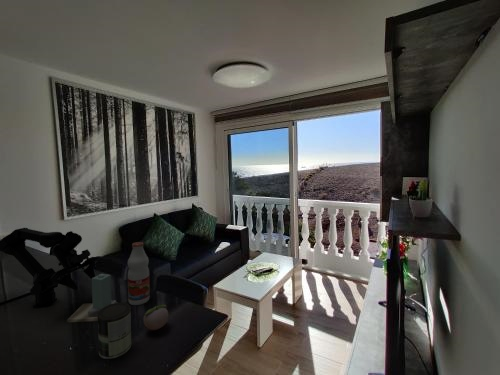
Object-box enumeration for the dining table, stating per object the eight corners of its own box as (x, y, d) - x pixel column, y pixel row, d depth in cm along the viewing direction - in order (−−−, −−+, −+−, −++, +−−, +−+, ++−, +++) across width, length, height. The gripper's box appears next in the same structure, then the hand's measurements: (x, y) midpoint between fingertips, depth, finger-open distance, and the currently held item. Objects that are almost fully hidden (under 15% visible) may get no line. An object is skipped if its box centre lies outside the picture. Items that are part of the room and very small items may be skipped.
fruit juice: (150, 294, 126) (149, 239, 124) (149, 303, 117) (148, 245, 115) (129, 297, 123) (128, 241, 120) (127, 307, 114) (125, 247, 112)
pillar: (92, 308, 107) (91, 276, 105) (102, 301, 111) (101, 271, 110) (102, 309, 105) (101, 278, 104) (111, 303, 110) (110, 273, 109)
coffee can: (92, 360, 83) (90, 319, 82) (107, 338, 93) (106, 302, 92) (124, 358, 84) (123, 318, 83) (136, 337, 94) (135, 301, 93)
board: (67, 322, 102) (66, 313, 102) (83, 306, 114) (83, 298, 114) (107, 320, 104) (107, 311, 104) (119, 304, 116) (118, 296, 116)
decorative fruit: (153, 340, 93) (153, 314, 92) (140, 332, 97) (139, 307, 96) (173, 326, 101) (173, 303, 100) (160, 320, 105) (159, 297, 104)
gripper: (55, 252, 101) (78, 283, 99) (93, 239, 119) (113, 265, 117) (40, 268, 103) (62, 299, 102) (80, 253, 121) (99, 279, 120)
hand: (86, 284), depth 110 cm, fingers open, 9 cm apart
